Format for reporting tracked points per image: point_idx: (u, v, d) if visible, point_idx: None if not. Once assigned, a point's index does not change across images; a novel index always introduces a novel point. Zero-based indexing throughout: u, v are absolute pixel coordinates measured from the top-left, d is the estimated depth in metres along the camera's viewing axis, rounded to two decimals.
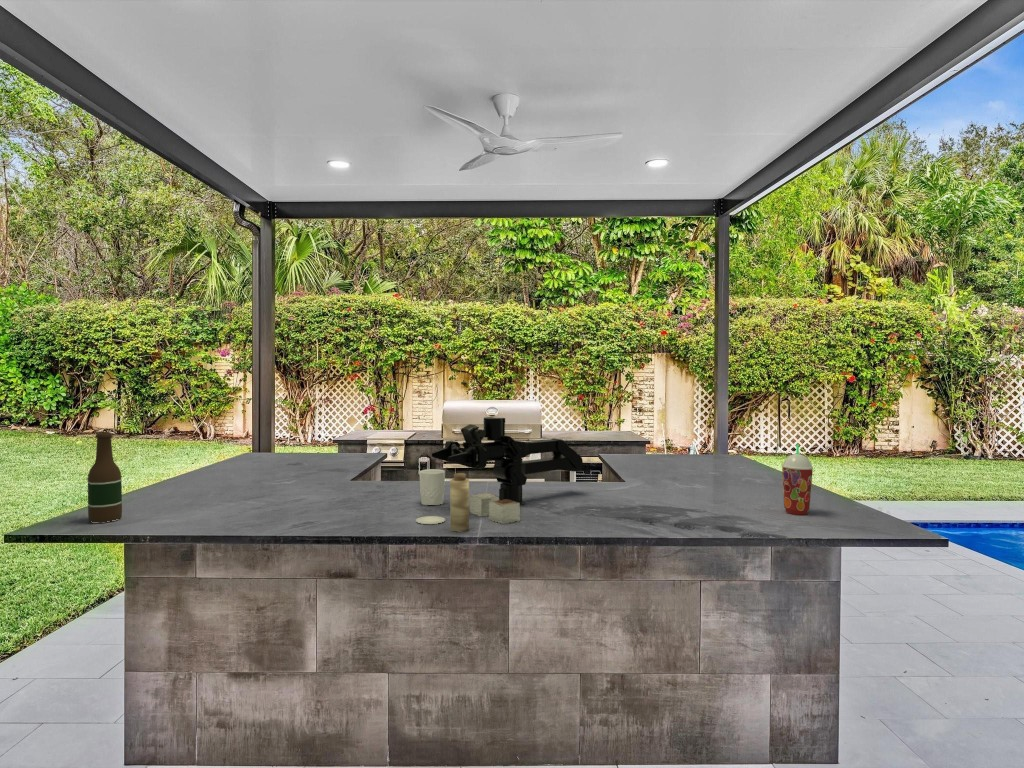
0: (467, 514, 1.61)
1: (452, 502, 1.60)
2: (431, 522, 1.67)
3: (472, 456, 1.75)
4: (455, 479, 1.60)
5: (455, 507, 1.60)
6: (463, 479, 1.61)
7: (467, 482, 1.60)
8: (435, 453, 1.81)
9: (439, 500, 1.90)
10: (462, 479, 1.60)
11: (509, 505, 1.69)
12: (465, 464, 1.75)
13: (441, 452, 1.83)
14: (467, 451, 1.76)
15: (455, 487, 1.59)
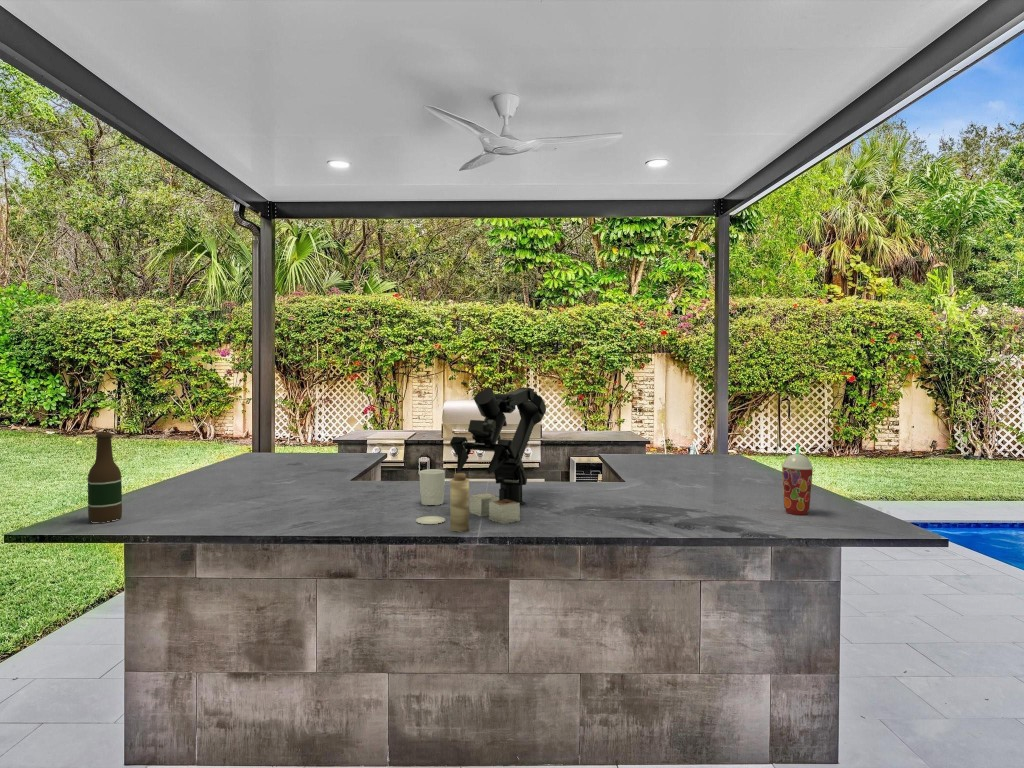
0: (467, 514, 1.61)
1: (452, 502, 1.60)
2: (431, 522, 1.67)
3: (503, 453, 1.70)
4: (455, 479, 1.60)
5: (455, 507, 1.60)
6: (463, 479, 1.61)
7: (467, 482, 1.60)
8: (459, 466, 1.71)
9: (439, 500, 1.90)
10: (462, 479, 1.60)
11: (509, 505, 1.69)
12: (501, 463, 1.71)
13: (461, 460, 1.73)
14: (497, 453, 1.69)
15: (455, 487, 1.59)
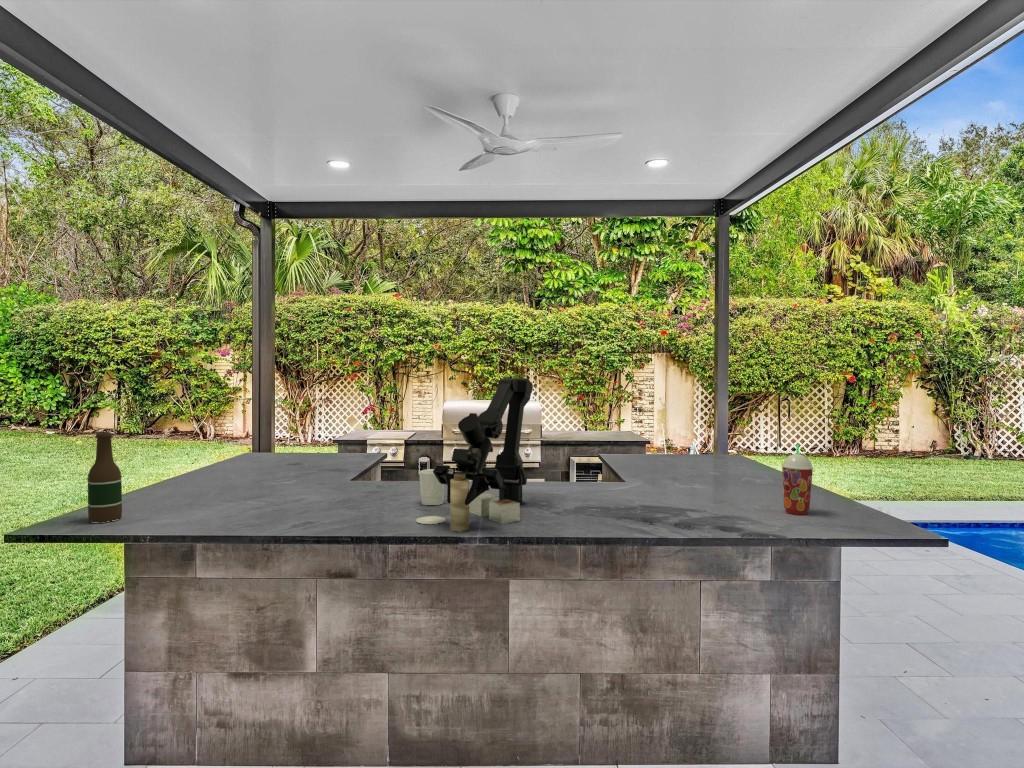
0: (467, 514, 1.61)
1: (452, 502, 1.60)
2: (431, 522, 1.67)
3: (482, 483, 1.62)
4: (455, 479, 1.60)
5: (455, 507, 1.60)
6: (463, 479, 1.61)
7: (467, 482, 1.60)
8: None
9: (439, 500, 1.90)
10: (462, 479, 1.60)
11: (509, 505, 1.69)
12: (479, 493, 1.63)
13: None
14: (475, 482, 1.61)
15: (455, 487, 1.59)
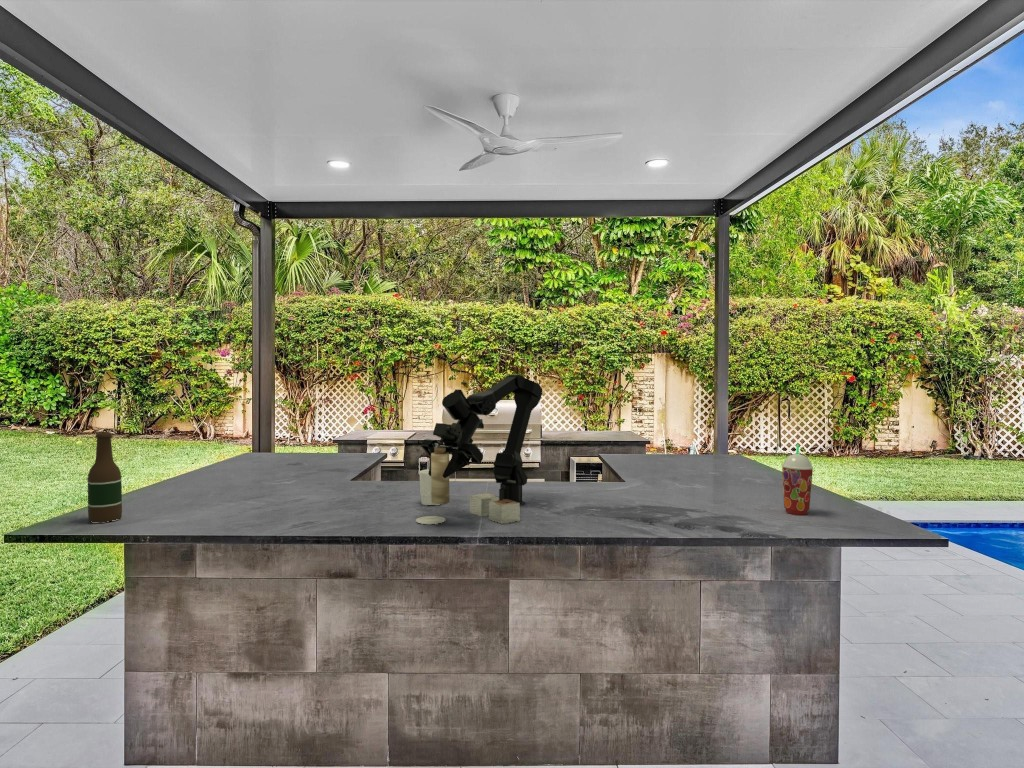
0: (446, 487, 1.65)
1: (432, 475, 1.65)
2: (431, 522, 1.67)
3: (461, 457, 1.66)
4: (435, 452, 1.65)
5: (434, 479, 1.65)
6: (442, 453, 1.65)
7: (446, 456, 1.65)
8: None
9: None
10: (441, 453, 1.65)
11: (509, 505, 1.69)
12: (459, 467, 1.67)
13: None
14: (454, 456, 1.65)
15: (433, 460, 1.64)
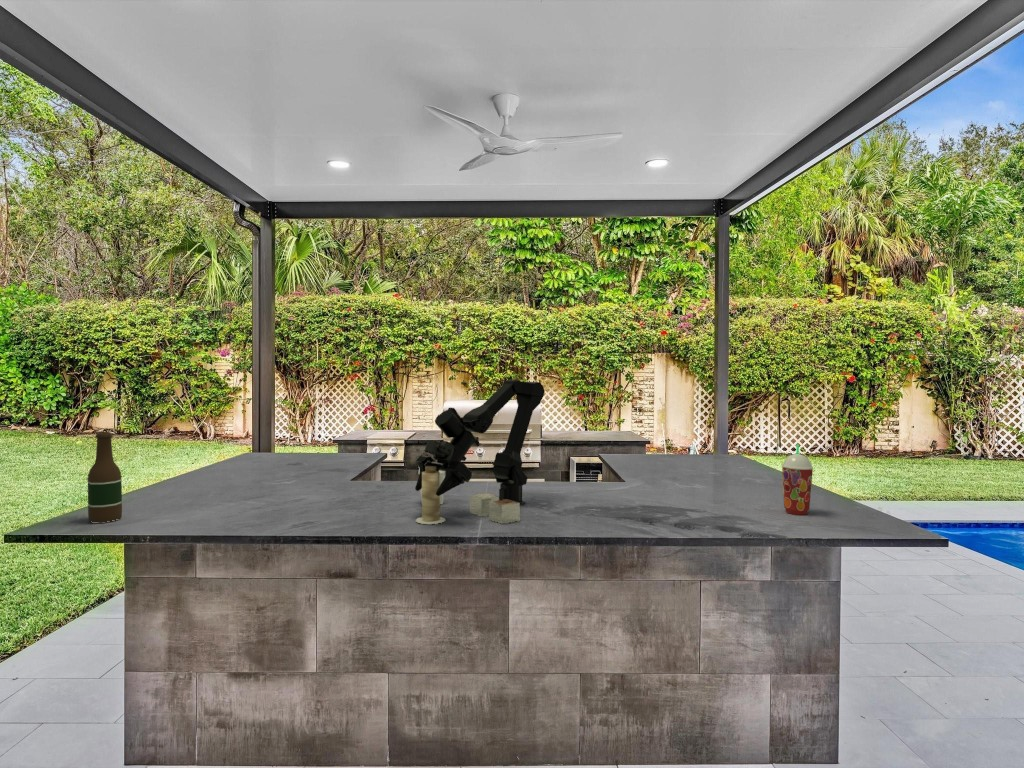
0: (435, 505, 1.69)
1: (422, 493, 1.69)
2: (431, 522, 1.67)
3: (455, 476, 1.67)
4: (425, 471, 1.69)
5: (423, 498, 1.69)
6: (432, 472, 1.69)
7: (435, 475, 1.68)
8: (418, 486, 1.73)
9: None
10: (431, 472, 1.69)
11: (509, 505, 1.69)
12: (454, 486, 1.68)
13: (421, 479, 1.74)
14: (447, 475, 1.67)
15: (423, 479, 1.69)
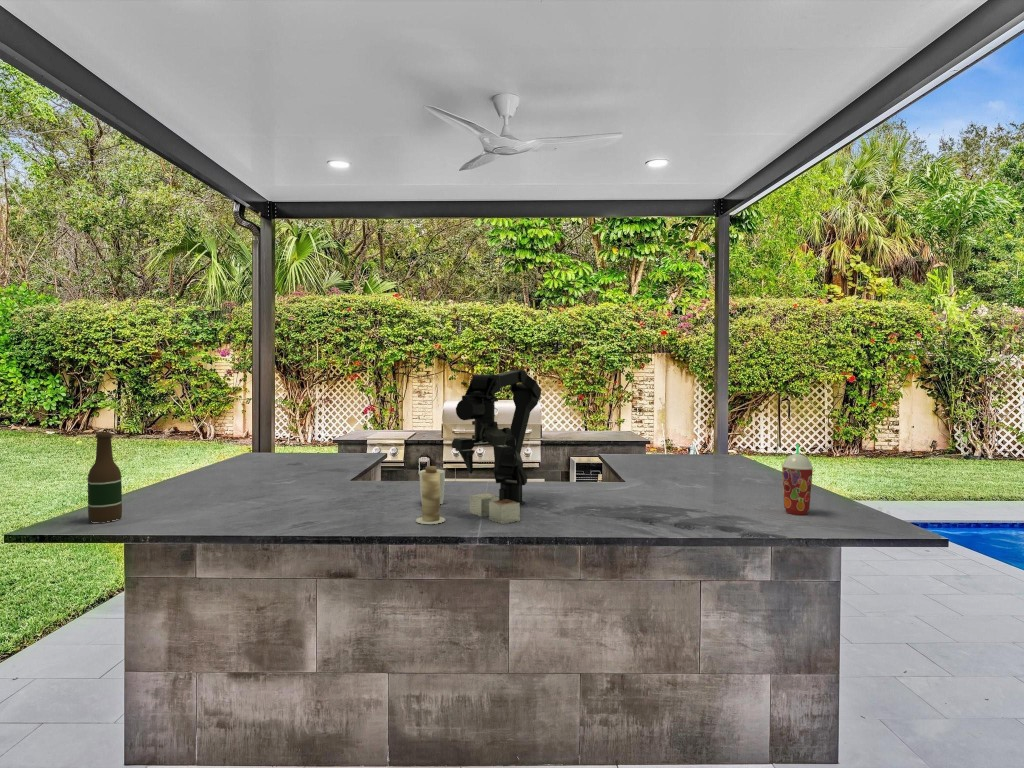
0: (435, 505, 1.69)
1: (422, 493, 1.69)
2: (431, 522, 1.67)
3: None
4: (425, 471, 1.69)
5: (424, 498, 1.69)
6: (432, 472, 1.69)
7: (435, 475, 1.68)
8: None
9: None
10: (431, 472, 1.69)
11: (509, 505, 1.69)
12: None
13: None
14: (504, 451, 1.81)
15: (423, 479, 1.69)
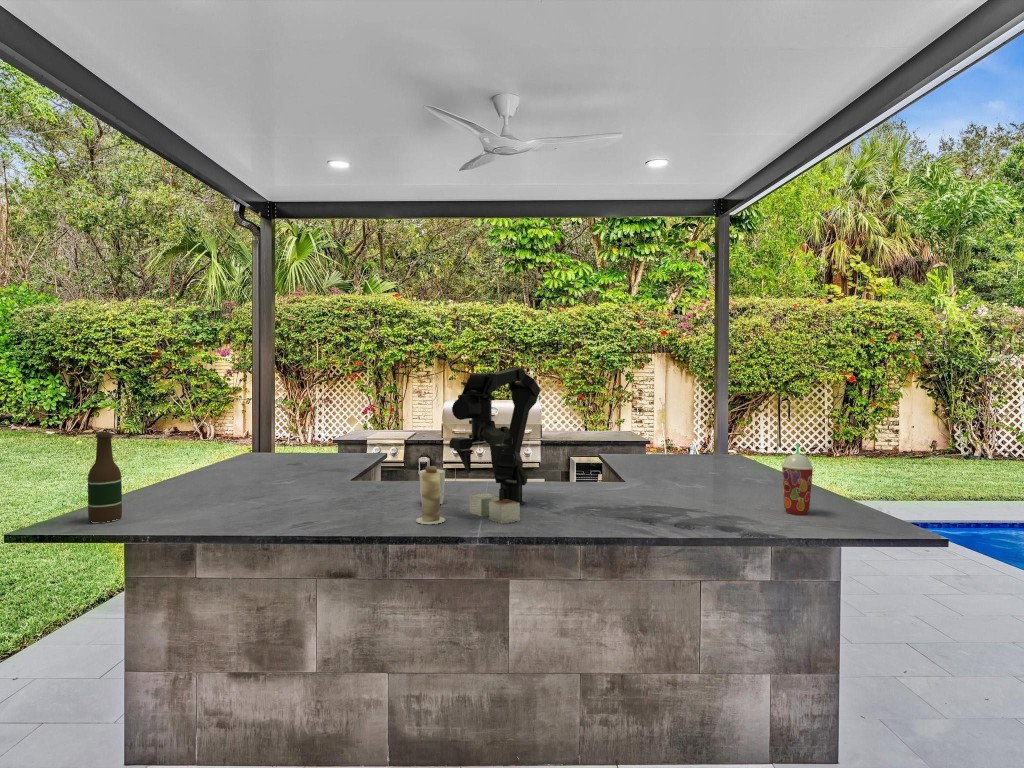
0: (435, 505, 1.69)
1: (422, 493, 1.69)
2: (431, 522, 1.67)
3: None
4: (425, 471, 1.69)
5: (424, 498, 1.69)
6: (432, 472, 1.69)
7: (435, 475, 1.68)
8: None
9: None
10: (431, 472, 1.69)
11: (509, 505, 1.69)
12: None
13: None
14: (501, 450, 1.81)
15: (423, 479, 1.69)
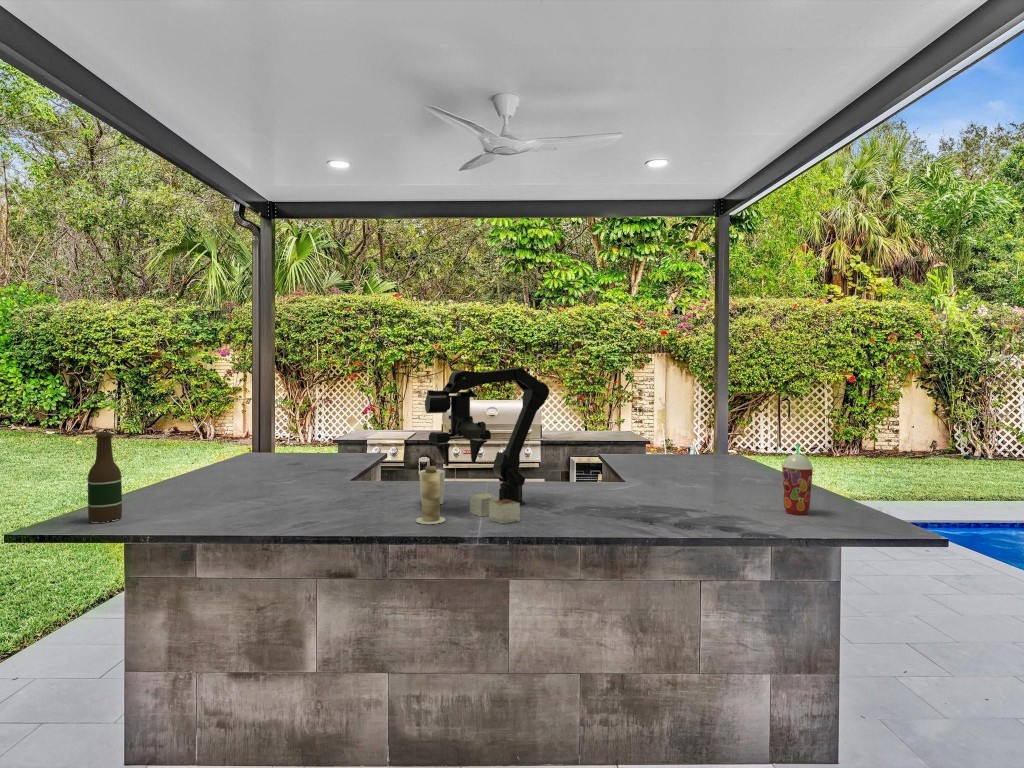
0: (435, 505, 1.69)
1: (422, 493, 1.69)
2: (431, 522, 1.67)
3: None
4: (425, 471, 1.69)
5: (423, 498, 1.69)
6: (432, 472, 1.69)
7: (435, 475, 1.68)
8: None
9: None
10: (431, 472, 1.69)
11: (509, 505, 1.69)
12: None
13: None
14: (480, 445, 1.88)
15: (423, 479, 1.69)
